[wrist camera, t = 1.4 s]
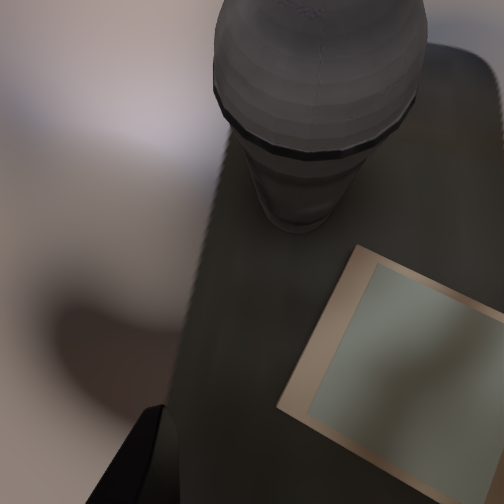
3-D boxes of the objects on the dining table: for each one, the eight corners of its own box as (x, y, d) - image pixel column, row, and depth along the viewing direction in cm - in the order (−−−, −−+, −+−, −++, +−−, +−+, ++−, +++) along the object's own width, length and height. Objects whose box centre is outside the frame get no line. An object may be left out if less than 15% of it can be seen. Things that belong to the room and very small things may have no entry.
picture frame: (552, 347, 21) (573, 346, 19) (489, 529, 19) (508, 544, 17) (351, 251, 23) (357, 243, 22) (276, 404, 21) (276, 407, 20)
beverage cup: (268, 136, 26) (243, -518, 7) (371, 173, 25) (709, -498, 5) (222, 228, 24) (9, -282, 5) (329, 273, 23) (601, -175, 4)
